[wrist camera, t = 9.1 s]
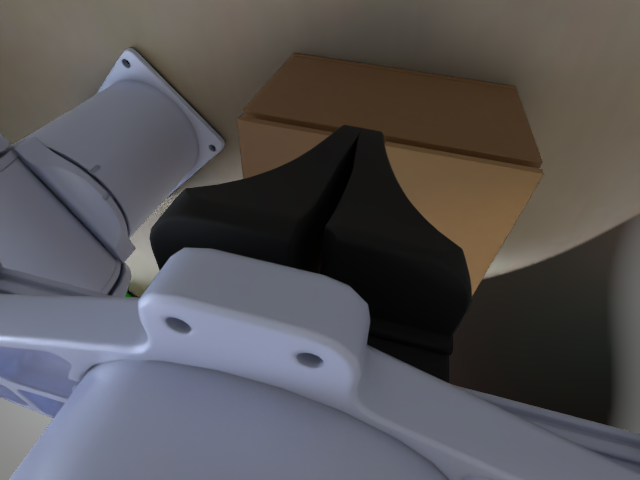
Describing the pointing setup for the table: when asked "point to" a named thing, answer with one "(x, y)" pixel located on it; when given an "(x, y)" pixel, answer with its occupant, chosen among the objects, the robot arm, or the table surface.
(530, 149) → the carton
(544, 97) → the table surface
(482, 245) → the flap
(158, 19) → the table surface
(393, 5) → the table surface
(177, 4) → the table surface
